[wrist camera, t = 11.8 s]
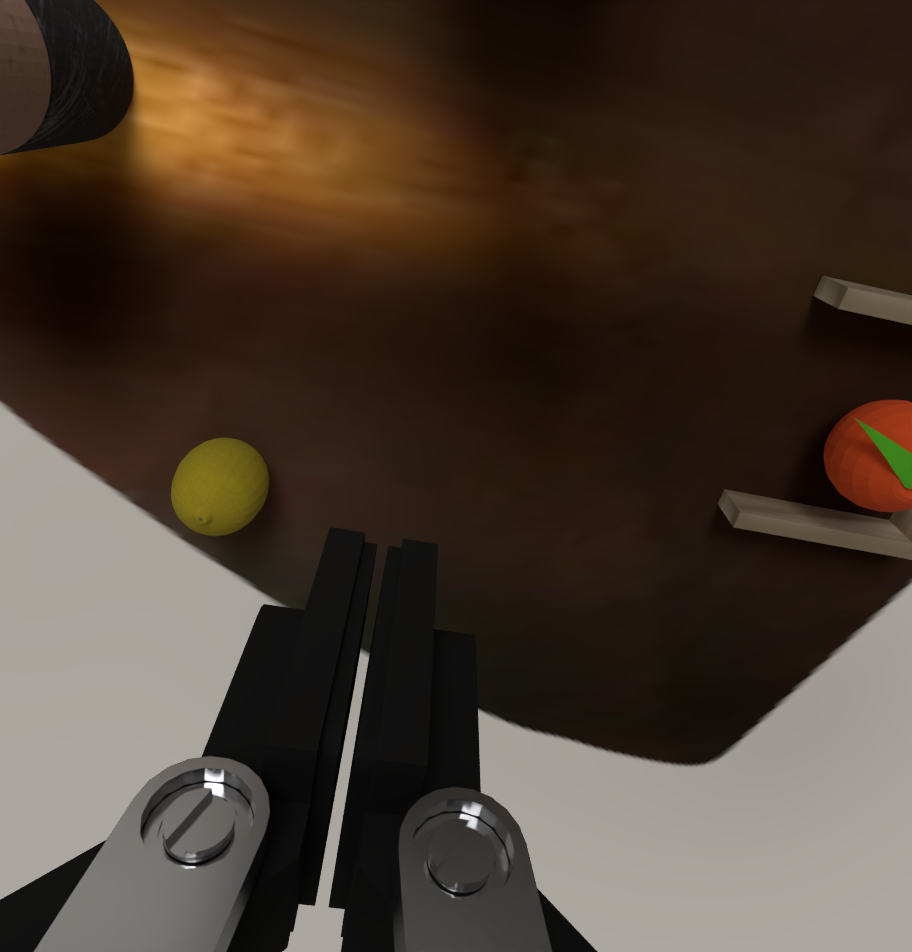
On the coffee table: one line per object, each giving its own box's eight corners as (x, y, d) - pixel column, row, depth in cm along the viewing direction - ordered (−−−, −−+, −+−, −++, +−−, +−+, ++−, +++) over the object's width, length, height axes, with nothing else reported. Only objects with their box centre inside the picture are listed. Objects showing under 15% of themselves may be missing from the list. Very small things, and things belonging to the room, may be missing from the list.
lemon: (296, 450, 45) (267, 513, 38) (254, 505, 47) (219, 574, 40) (224, 402, 43) (179, 459, 36) (183, 462, 45) (134, 526, 38)
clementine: (772, 428, 44) (825, 480, 38) (863, 350, 42) (937, 392, 35) (842, 496, 47) (903, 555, 40) (932, 426, 44) (1012, 478, 38)
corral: (822, 275, 39) (848, 287, 37) (1029, 321, 41) (1069, 336, 38) (717, 503, 47) (733, 527, 44) (895, 536, 48) (920, 561, 46)
